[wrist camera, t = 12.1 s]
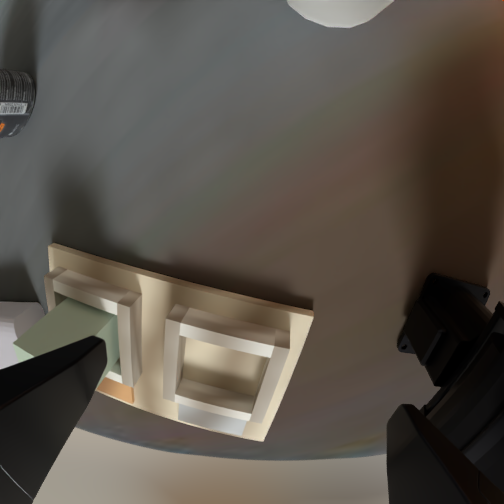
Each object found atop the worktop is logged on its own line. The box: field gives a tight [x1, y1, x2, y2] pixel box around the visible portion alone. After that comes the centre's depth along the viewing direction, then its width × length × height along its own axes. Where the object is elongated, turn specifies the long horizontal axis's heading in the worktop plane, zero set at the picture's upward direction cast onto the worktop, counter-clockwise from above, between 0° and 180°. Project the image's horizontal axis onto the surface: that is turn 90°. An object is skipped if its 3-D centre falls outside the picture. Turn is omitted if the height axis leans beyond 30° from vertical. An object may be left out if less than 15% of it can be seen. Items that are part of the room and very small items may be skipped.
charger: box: [0, 301, 45, 369], centre depth 24 cm, size 5×9×15 cm
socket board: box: [44, 243, 314, 442], centre depth 22 cm, size 21×15×3 cm
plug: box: [13, 297, 120, 392], centre depth 18 cm, size 4×4×8 cm
